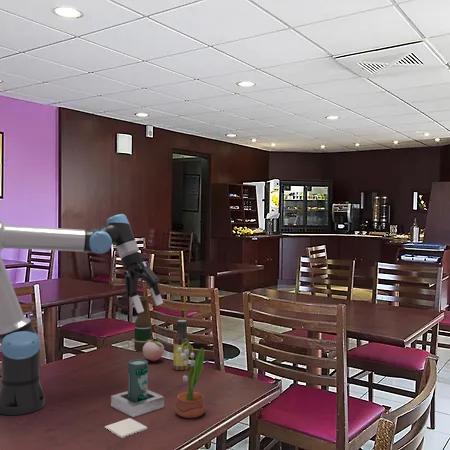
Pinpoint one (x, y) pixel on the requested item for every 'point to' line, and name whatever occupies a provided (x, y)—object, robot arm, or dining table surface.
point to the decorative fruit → (153, 350)
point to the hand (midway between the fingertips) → (150, 308)
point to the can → (137, 380)
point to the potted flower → (191, 386)
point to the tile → (125, 427)
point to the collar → (139, 408)
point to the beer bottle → (142, 328)
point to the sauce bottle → (178, 341)
